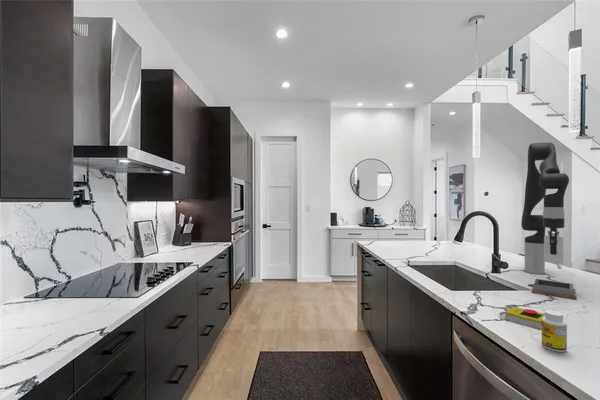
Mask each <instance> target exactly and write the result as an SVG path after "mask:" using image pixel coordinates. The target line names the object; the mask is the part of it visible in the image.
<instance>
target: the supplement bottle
mask: <svg viewBox="0 0 600 400" xmlns="http://www.w3.org/2000/svg"><path fill="white" fill-rule="evenodd" d="M544 314H545V317H543V318H542V330H541V346H542V347H544V348H545V349H546V350H549V351H552V352H555V351H557V353H565V352H566V351H567V349H568V346H567V345H568V323H567V322H566V321H565V320H564V314H563V313H561V312H559V311H555V310H550V309H549V310H545V311H544Z"/></svg>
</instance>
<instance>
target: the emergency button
mask: <svg viewBox="0 0 600 400" xmlns="http://www.w3.org/2000/svg"><path fill="white" fill-rule="evenodd" d="M543 317H545V313H541V312H538V311H536V310H533V309H530V308H529V309H527V308H522V307H521V308H520V307H518V306H517V307H516V306H513V307H512V308H510V309H508V310H506V311H505V313H503V314H501V315H499V316H498V318H499V319H500V320H505V321H507V322H508V321H509V322H511V323H514V324H519V325H523V326H524V327H525V326H526V327H529V326H530V328H533V329H536V328H537V330H540V331H542V318H543Z"/></svg>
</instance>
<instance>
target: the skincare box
mask: <svg viewBox="0 0 600 400" xmlns="http://www.w3.org/2000/svg"><path fill="white" fill-rule="evenodd" d="M548 238H549V236H548V235H545V236H544V261H545V262H546V263H550V264H552V265H564V237H563V236H558V242H557V254H556V255H552V254H550V245H549V243H550V241H549V240H548ZM553 242H555V241H553Z"/></svg>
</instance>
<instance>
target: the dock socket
mask: <svg viewBox="0 0 600 400" xmlns="http://www.w3.org/2000/svg"><path fill="white" fill-rule="evenodd" d="M531 293H532V294H537V295H543V296H550V297H555V298H556V297H557V298H562V299H569V300H574V301H577V294H576V293H577V292H576V288H574V284H573V283H570V282H563V281H555V280H548V279H547V280H546V279H541V278H535V280H534V283H533V285H532V288H531Z"/></svg>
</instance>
